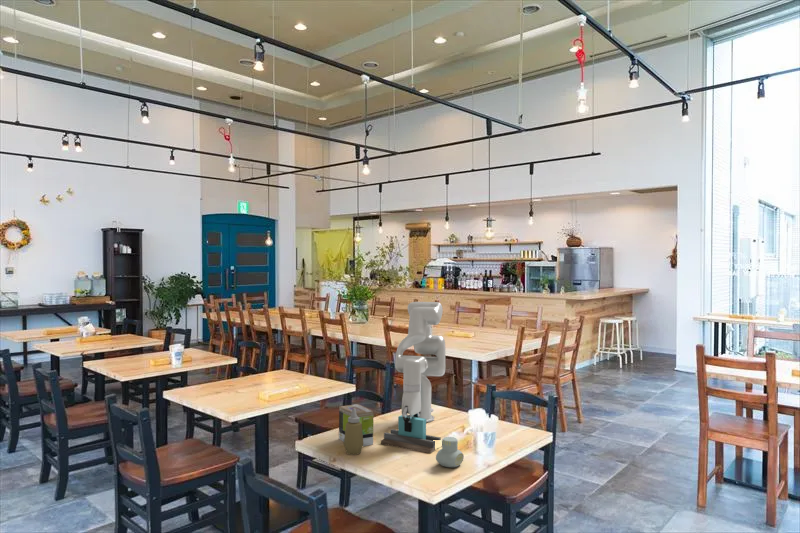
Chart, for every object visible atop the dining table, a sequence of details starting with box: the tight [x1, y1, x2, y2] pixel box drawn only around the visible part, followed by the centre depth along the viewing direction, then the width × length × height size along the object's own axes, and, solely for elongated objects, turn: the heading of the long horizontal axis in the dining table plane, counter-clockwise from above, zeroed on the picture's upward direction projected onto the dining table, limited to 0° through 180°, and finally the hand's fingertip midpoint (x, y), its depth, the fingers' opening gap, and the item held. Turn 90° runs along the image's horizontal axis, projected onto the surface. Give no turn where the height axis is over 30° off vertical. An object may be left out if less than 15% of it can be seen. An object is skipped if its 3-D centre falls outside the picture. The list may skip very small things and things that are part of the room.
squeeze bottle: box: [343, 408, 364, 455], centre depth 217 cm, size 8×8×18 cm
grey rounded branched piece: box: [435, 436, 464, 468], centre depth 203 cm, size 11×8×10 cm
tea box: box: [338, 403, 375, 447], centre depth 230 cm, size 15×10×15 cm, turn 32°
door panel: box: [397, 414, 427, 440], centre depth 227 cm, size 3×12×10 cm, turn 60°
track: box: [380, 428, 442, 454], centre depth 227 cm, size 12×24×4 cm, turn 61°
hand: (411, 429), depth 227 cm, fingers open, 6 cm apart
